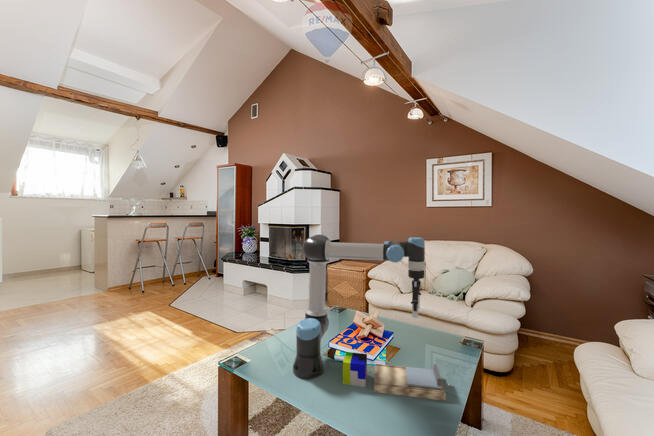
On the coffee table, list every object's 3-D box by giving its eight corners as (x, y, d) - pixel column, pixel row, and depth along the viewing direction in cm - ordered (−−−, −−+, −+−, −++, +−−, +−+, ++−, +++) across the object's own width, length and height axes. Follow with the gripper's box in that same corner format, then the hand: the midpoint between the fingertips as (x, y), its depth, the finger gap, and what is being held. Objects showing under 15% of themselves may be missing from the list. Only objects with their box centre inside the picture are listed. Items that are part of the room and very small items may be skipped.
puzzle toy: (365, 387, 133) (365, 364, 132) (342, 384, 135) (342, 362, 134) (366, 374, 143) (366, 353, 142) (345, 372, 145) (345, 351, 144)
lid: (407, 385, 128) (407, 376, 128) (405, 368, 142) (405, 360, 142) (442, 389, 125) (442, 380, 125) (436, 371, 139) (436, 363, 139)
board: (374, 391, 129) (374, 384, 129) (375, 369, 147) (375, 363, 147) (445, 400, 123) (445, 392, 123) (438, 376, 141) (438, 369, 141)
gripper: (423, 275, 133) (423, 322, 134) (425, 265, 157) (424, 305, 157) (406, 274, 136) (405, 320, 136) (410, 264, 159) (410, 304, 160)
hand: (416, 312), depth 147 cm, fingers open, 13 cm apart
